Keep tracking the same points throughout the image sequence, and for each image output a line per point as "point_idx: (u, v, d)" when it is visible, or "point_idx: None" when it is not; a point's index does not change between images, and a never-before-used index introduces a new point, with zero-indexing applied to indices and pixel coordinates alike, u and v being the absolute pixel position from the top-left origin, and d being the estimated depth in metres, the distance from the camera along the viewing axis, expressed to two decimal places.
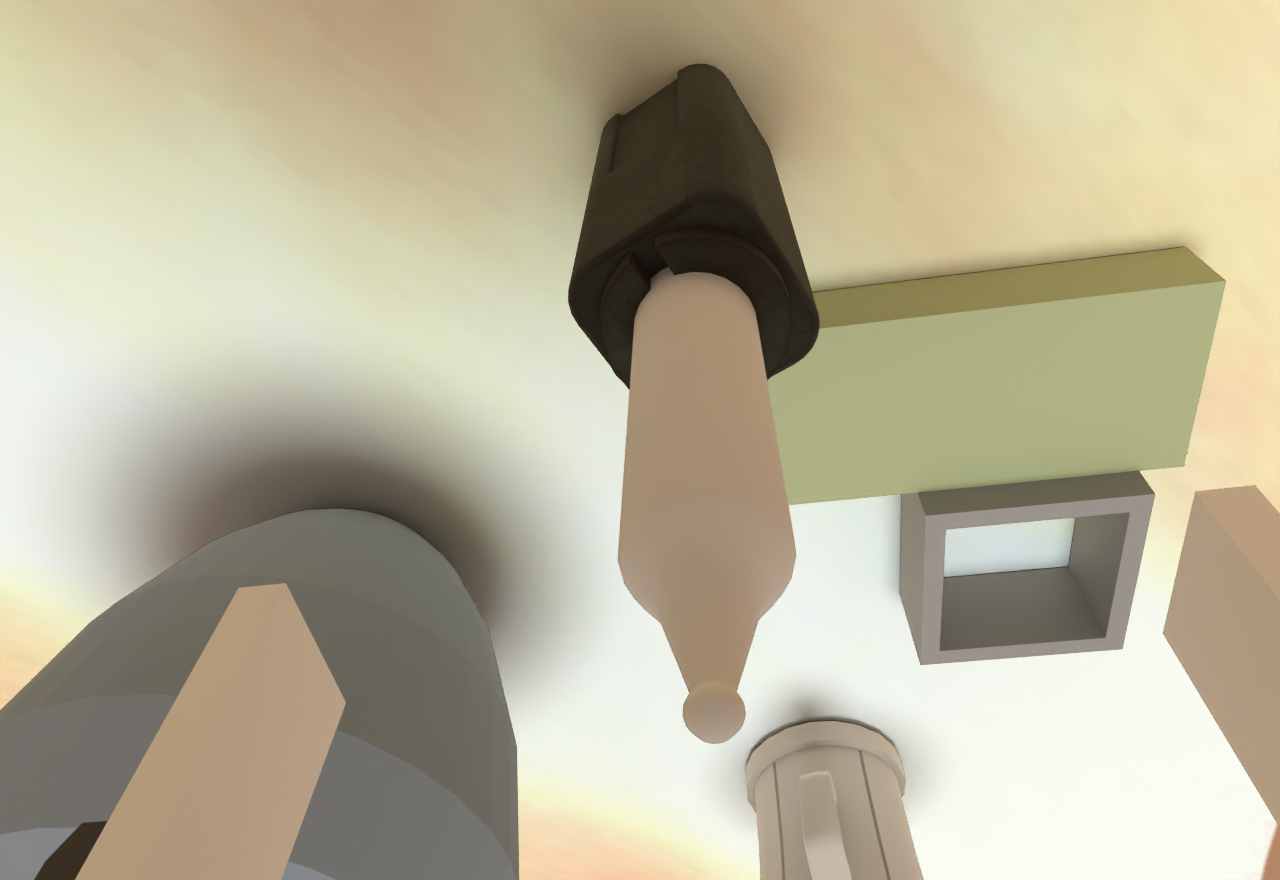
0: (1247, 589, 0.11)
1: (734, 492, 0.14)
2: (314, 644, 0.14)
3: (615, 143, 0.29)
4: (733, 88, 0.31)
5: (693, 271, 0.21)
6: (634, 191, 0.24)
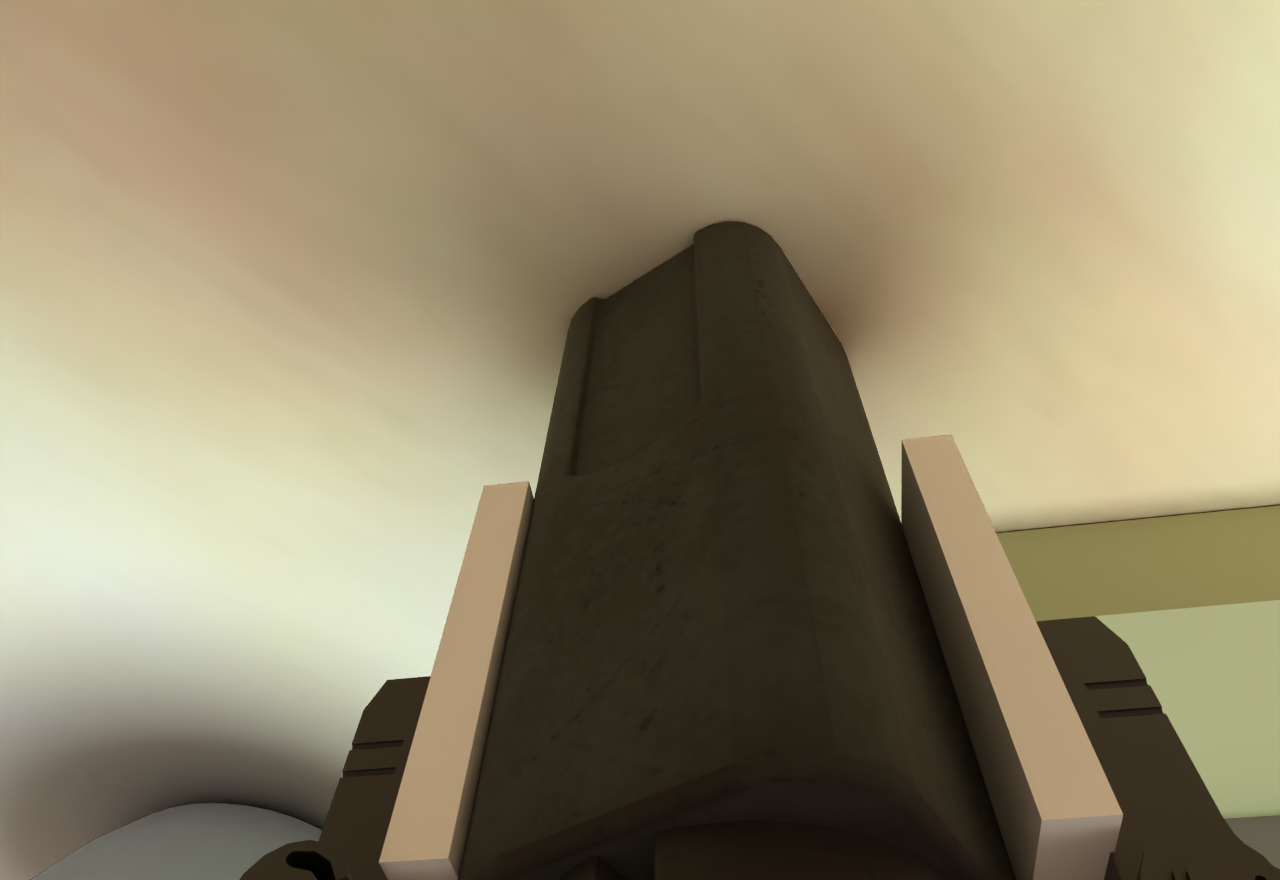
0: (923, 520, 0.13)
1: None
2: None
3: (585, 378, 0.17)
4: (787, 259, 0.19)
5: None
6: (611, 600, 0.11)
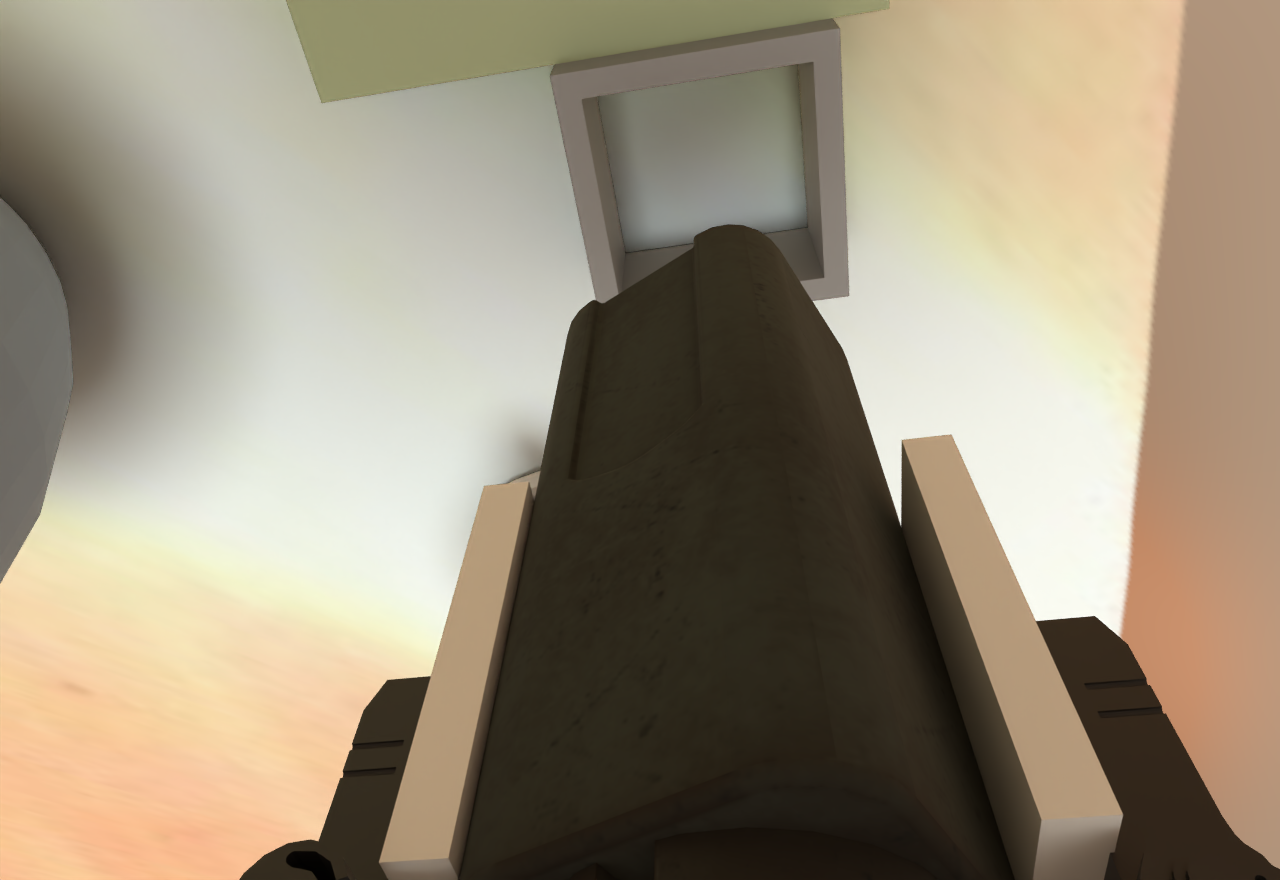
0: (923, 520, 0.13)
1: None
2: None
3: (585, 381, 0.17)
4: (787, 262, 0.19)
5: None
6: (611, 605, 0.11)
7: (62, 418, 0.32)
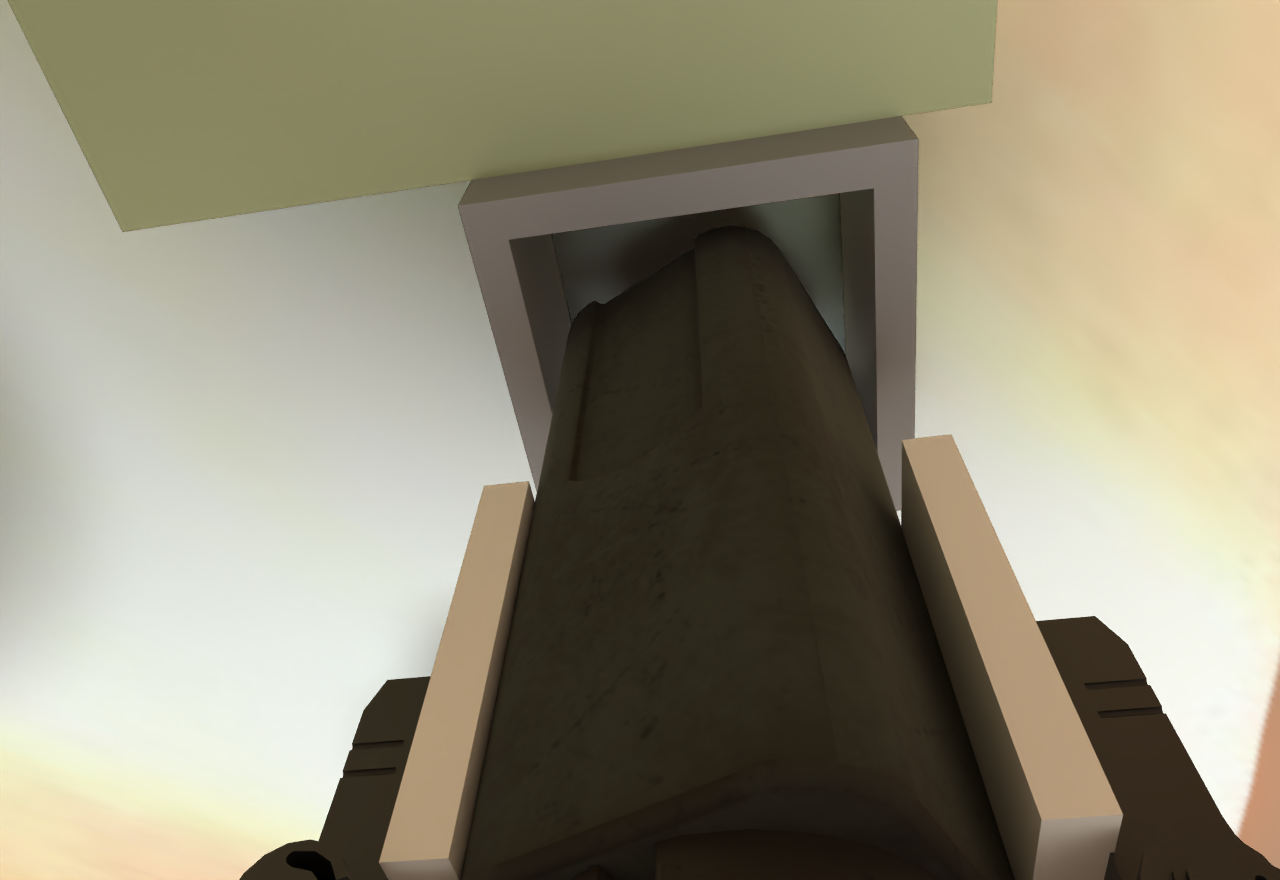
0: (923, 519, 0.13)
1: None
2: None
3: (586, 382, 0.17)
4: (787, 263, 0.19)
5: None
6: (612, 607, 0.11)
7: None
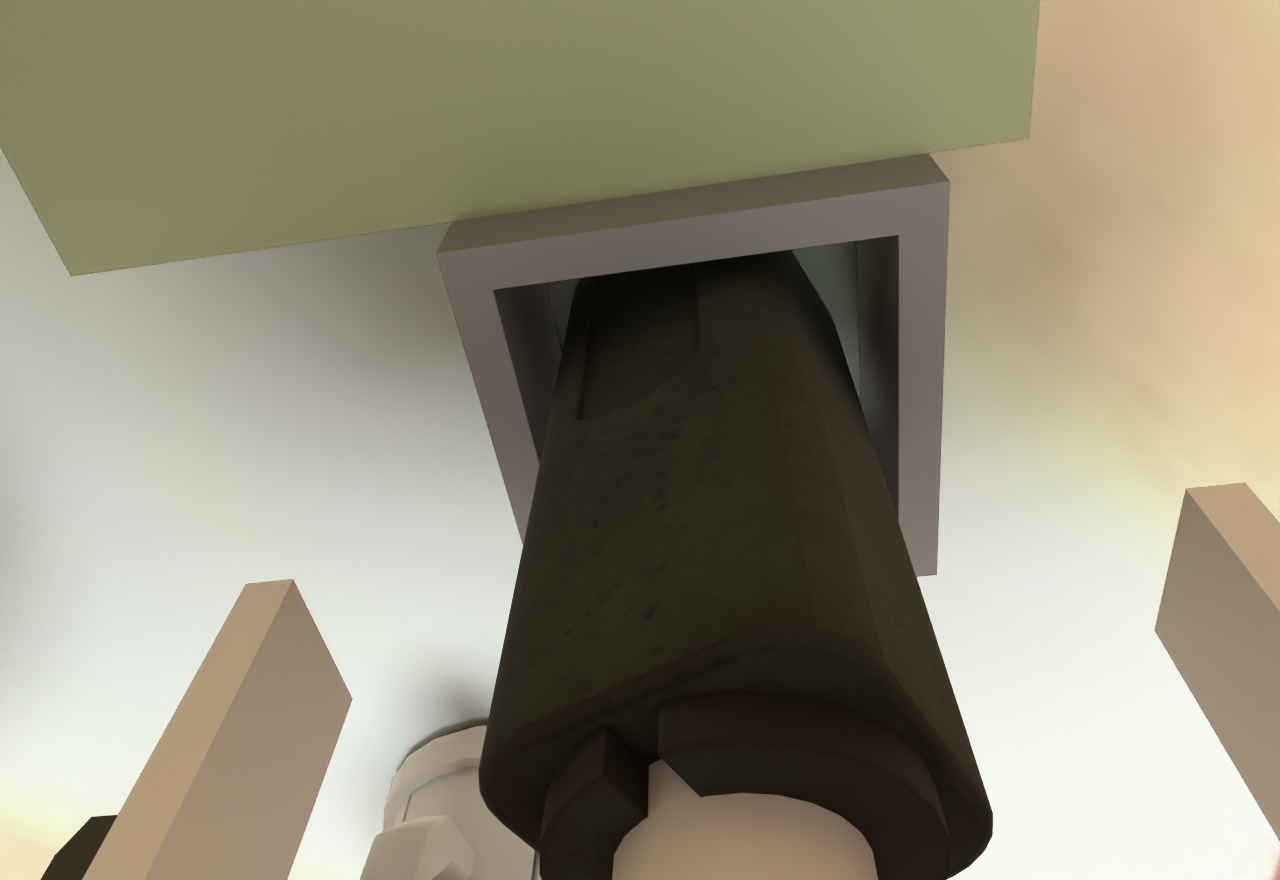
0: (1236, 586, 0.11)
1: None
2: (320, 641, 0.14)
3: (591, 337, 0.18)
4: None
5: (742, 789, 0.09)
6: (617, 519, 0.12)
7: None
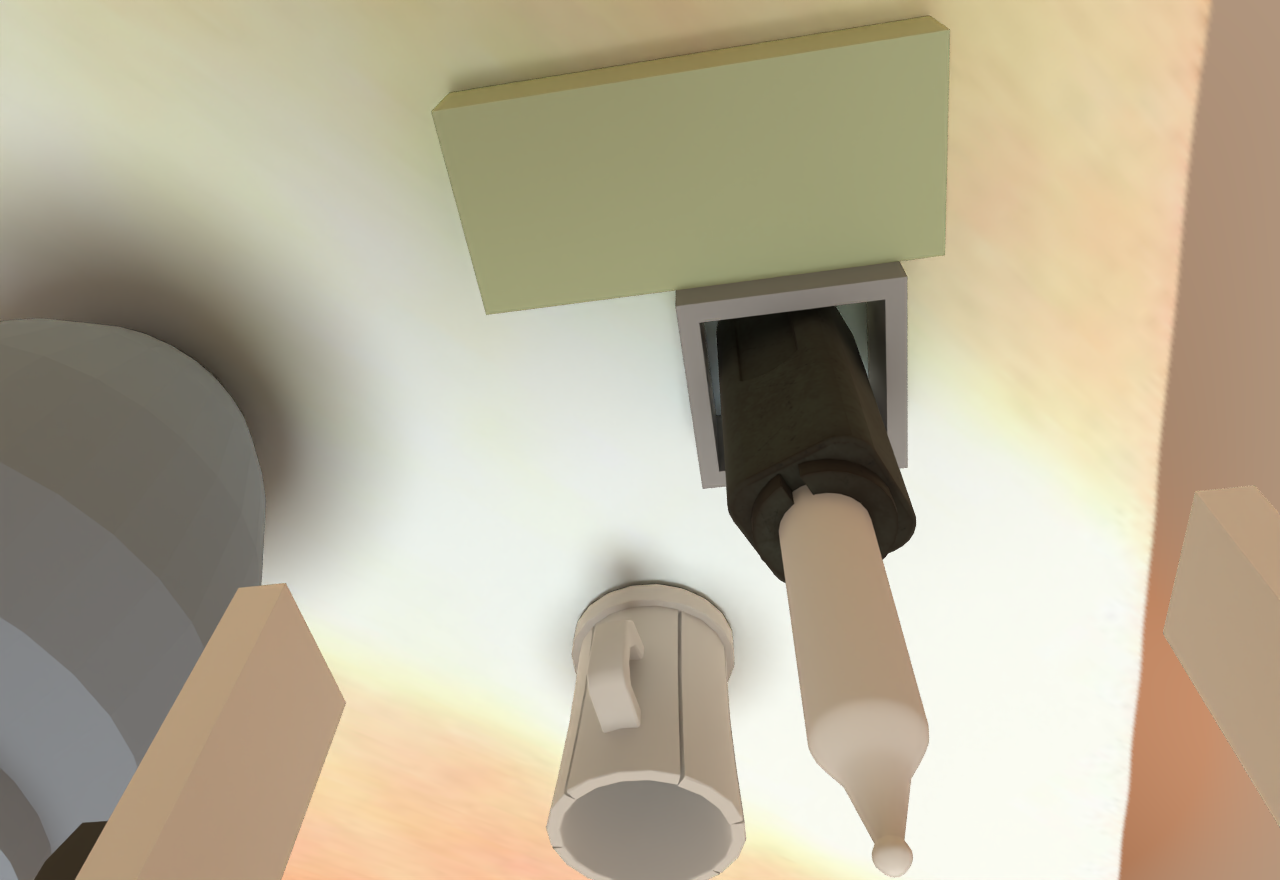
0: (1247, 589, 0.11)
1: (892, 699, 0.21)
2: (314, 644, 0.14)
3: (737, 345, 0.37)
4: None
5: (827, 492, 0.28)
6: (771, 413, 0.31)
7: None
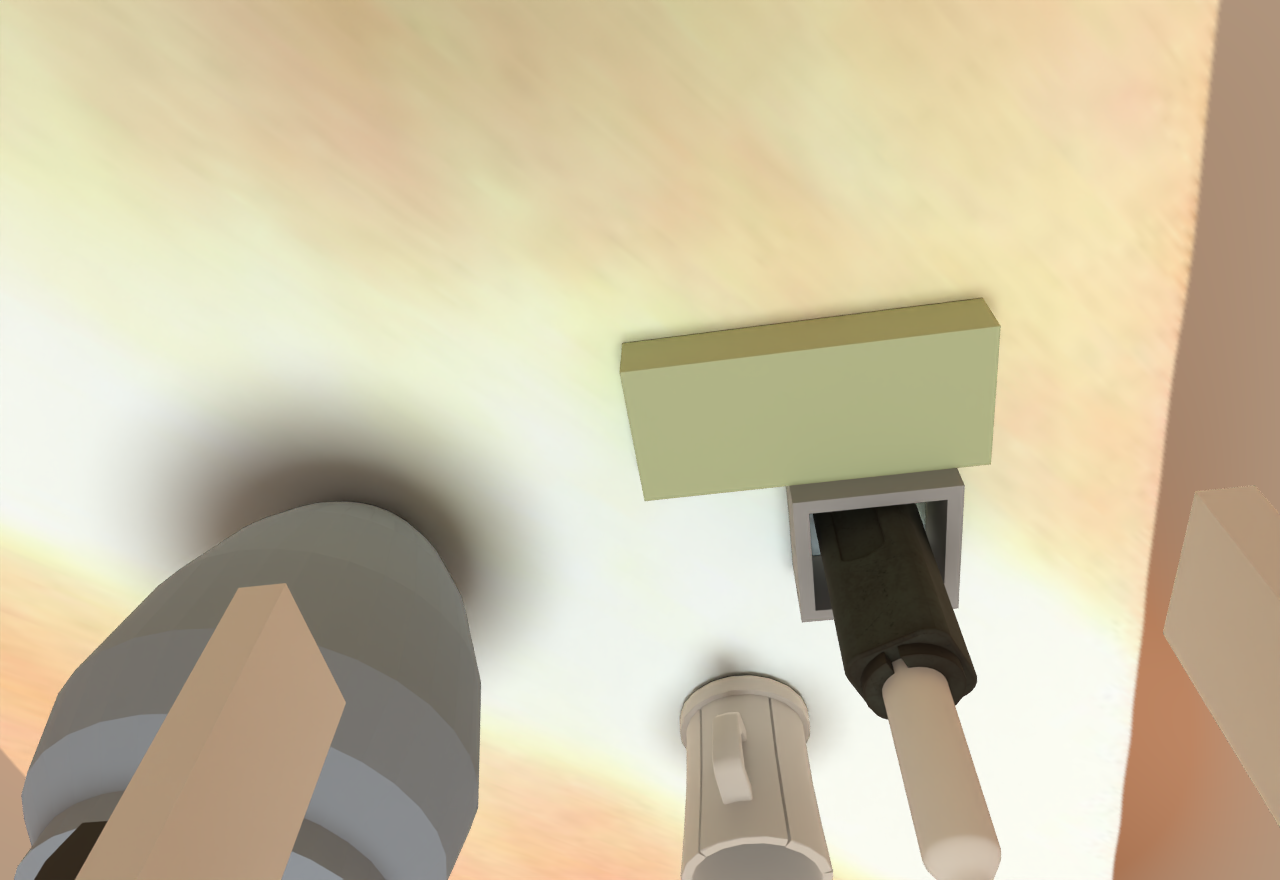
0: (1247, 590, 0.11)
1: (979, 835, 0.34)
2: (314, 645, 0.14)
3: (833, 523, 0.49)
4: None
5: (917, 666, 0.41)
6: (872, 598, 0.43)
7: None
